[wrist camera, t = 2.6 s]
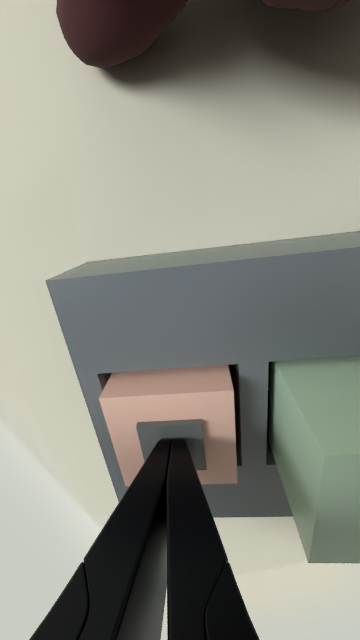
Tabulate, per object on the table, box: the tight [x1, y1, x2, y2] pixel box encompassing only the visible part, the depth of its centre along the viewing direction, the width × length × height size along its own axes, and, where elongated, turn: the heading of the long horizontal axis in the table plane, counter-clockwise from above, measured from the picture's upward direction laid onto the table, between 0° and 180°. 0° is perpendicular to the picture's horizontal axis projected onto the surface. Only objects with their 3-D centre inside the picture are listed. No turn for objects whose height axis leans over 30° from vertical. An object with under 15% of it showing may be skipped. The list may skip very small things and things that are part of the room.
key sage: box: [269, 355, 360, 563], centre depth 7 cm, size 4×4×4 cm
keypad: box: [46, 231, 360, 517], centre depth 10 cm, size 17×11×3 cm, turn 97°
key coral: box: [99, 365, 237, 486], centre depth 10 cm, size 4×4×4 cm
